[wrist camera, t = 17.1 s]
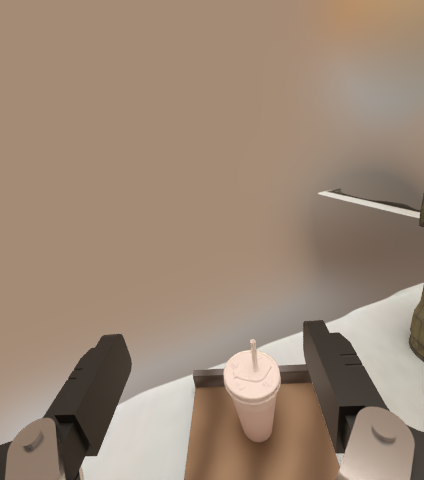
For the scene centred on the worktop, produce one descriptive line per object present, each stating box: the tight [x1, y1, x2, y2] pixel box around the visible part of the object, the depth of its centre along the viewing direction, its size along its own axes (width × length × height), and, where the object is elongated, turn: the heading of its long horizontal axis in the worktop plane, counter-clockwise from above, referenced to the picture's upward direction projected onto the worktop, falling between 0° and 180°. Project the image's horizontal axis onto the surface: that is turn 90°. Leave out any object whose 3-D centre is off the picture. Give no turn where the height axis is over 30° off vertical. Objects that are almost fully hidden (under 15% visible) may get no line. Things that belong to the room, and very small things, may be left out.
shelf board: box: [184, 364, 340, 480], centre depth 33 cm, size 17×13×4 cm
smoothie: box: [224, 339, 281, 442], centre depth 30 cm, size 6×6×14 cm
